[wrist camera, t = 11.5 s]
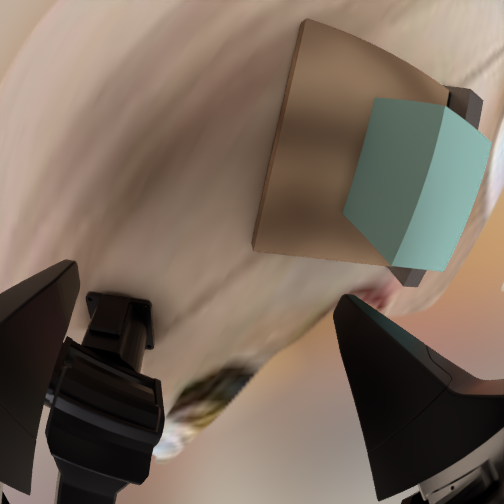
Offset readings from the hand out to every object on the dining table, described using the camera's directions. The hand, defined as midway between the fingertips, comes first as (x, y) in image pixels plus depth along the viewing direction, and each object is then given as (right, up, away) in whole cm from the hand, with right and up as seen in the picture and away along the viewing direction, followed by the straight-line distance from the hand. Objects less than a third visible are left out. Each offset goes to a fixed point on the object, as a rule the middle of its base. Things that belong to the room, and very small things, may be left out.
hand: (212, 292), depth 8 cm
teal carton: (+11, +8, +9) cm, 16 cm away
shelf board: (+9, +8, +10) cm, 16 cm away
